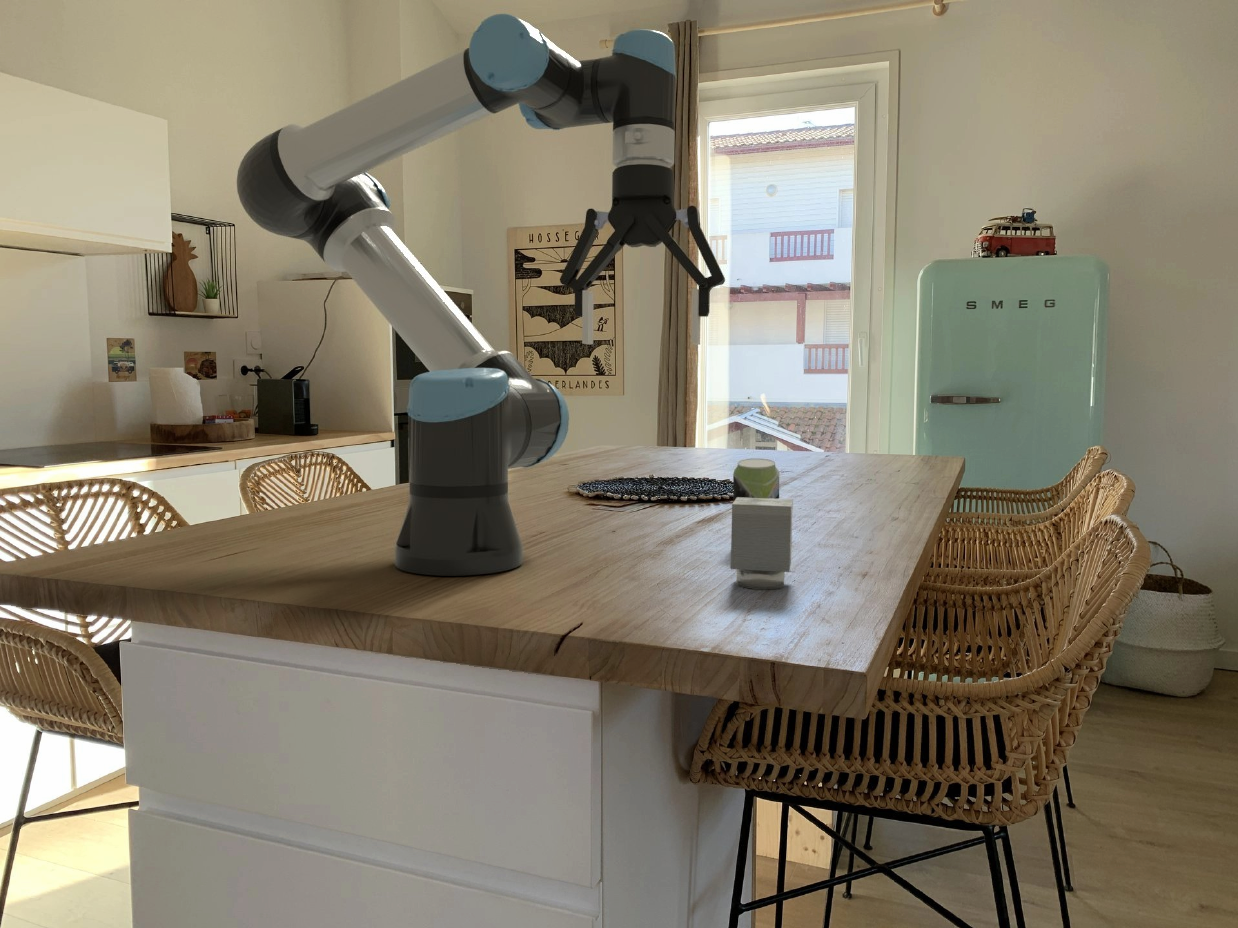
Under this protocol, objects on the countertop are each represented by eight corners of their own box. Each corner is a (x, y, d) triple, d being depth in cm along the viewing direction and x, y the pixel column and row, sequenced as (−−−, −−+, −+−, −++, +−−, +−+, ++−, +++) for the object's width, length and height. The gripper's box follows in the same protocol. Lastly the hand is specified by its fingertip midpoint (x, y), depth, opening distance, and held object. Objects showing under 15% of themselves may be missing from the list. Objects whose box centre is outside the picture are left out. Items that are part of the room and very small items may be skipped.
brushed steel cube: (730, 568, 99) (732, 504, 99) (735, 558, 105) (737, 497, 105) (789, 571, 98) (791, 506, 97) (791, 560, 104) (792, 499, 103)
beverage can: (777, 544, 127) (779, 457, 126) (780, 554, 120) (783, 462, 119) (731, 543, 128) (732, 456, 127) (732, 553, 121) (734, 461, 120)
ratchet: (734, 587, 100) (735, 535, 100) (746, 558, 117) (747, 513, 116) (783, 590, 99) (784, 538, 99) (788, 560, 116) (789, 515, 115)
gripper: (535, 165, 112) (535, 342, 114) (743, 157, 107) (739, 343, 108) (553, 178, 119) (552, 345, 121) (748, 171, 114) (744, 345, 116)
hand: (641, 344), depth 115 cm, fingers open, 13 cm apart
